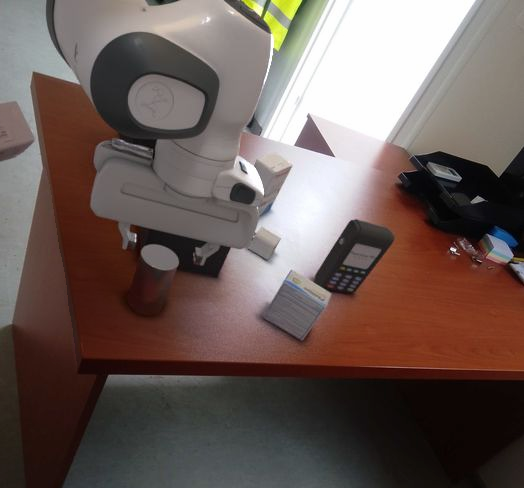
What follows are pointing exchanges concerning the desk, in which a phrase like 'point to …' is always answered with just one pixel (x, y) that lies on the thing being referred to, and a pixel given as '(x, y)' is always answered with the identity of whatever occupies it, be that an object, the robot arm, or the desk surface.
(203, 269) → the trash bin
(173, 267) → the drink can
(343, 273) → the card reader
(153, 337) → the desk surface
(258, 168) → the ink box
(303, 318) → the medicine box
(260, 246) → the usb wall charger
